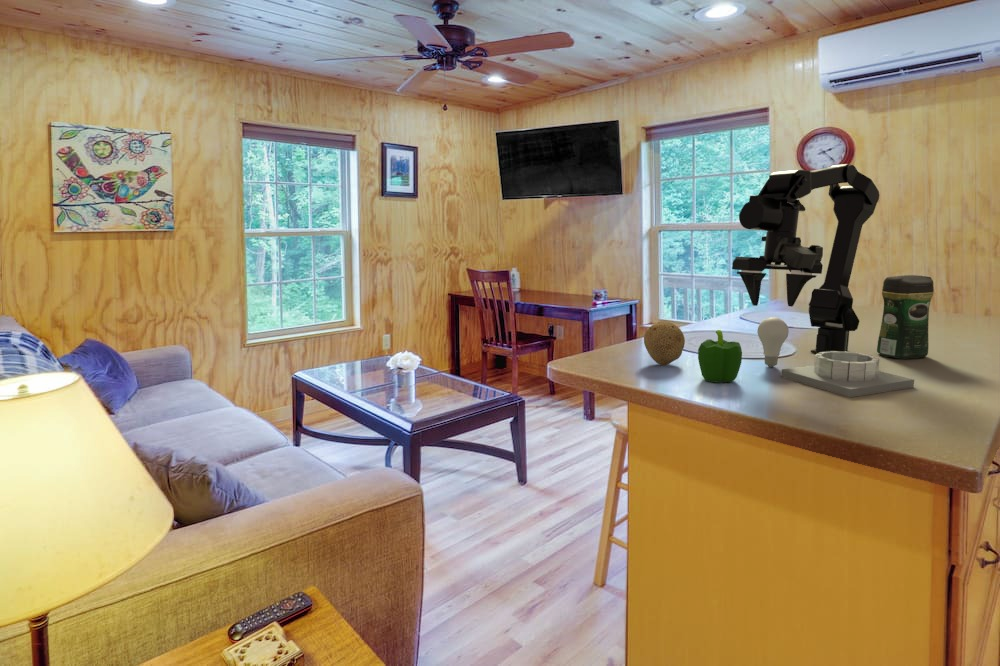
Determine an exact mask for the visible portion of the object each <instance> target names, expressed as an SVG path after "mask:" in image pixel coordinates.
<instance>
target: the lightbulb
mask: <svg viewBox="0 0 1000 666" xmlns="http://www.w3.org/2000/svg"><path fill="white" fill-rule="evenodd" d="M789 332H790V331H789V327H788V325H787V323H786V322H785V321H784V320H783V319H781V318H779V317H775V316H773V317H767V318H765V319H763V320H762V321H761V322H760V323H759V324H758V327H757V336H758V338H759V340H760V342H761V345H762V349H763V355H764V365H766V366H767V367H768V368H774V367H776V366H777V365H778V360H779V356H780V354H781V350H782V346H783V345H784V343H785V342H786V340H787V339H788V336H789Z"/></svg>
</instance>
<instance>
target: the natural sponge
mask: <svg viewBox="0 0 1000 666" xmlns="http://www.w3.org/2000/svg"><path fill="white" fill-rule="evenodd" d="M685 339H686V338H685V335H684V332H683V331H682V329H681V328H680V327H679V326H678V325H676V324H674V323H673V322H670V321H668V320H659V321H657V322H655V323H653V324H652V325H650V326H648V328H647V329H646V330H645V333H644V336H643V344H644V347H645V349H646V351H647V353H648V355H649V357H650V358H651V359H652V360H653V361H654V362H655V363H656V364H658V365H660V366H668V365H670V364H672V363H673V362H675V361H677V360H678V359H679V358H680V357H681V356H682V353H683V350H684V348H685V342H686V340H685Z"/></svg>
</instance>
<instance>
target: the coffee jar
mask: <svg viewBox="0 0 1000 666" xmlns="http://www.w3.org/2000/svg"><path fill="white" fill-rule="evenodd" d="M882 284H883V285H882V289H881V296H882V299H883V311H882V316H881V317H882V318H881V323H880V324H881V325H880V330H879V335H878V339H877V345H876V352H877V353H878V354H879V355H881V356H882V357H885V358H895V359H902V360H907V359H910V360H911V359H919V358H925V357H927V356H928V355H929V321H930V318H929V313H930V306H931V301H932V299H933V296H934V280H933V279H932V277H931V276H926V275H924V276H923V275H916V274H904V275H896V276H895V275H894V276H888V277H886V278H885V279H884V280H883V283H882Z"/></svg>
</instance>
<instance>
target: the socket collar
mask: <svg viewBox="0 0 1000 666" xmlns="http://www.w3.org/2000/svg"><path fill="white" fill-rule="evenodd" d="M814 365H815V367H814V372H815V373H816V374H817V375H819V376H822V377H826V378H829V379H835V380H842V381H861V382H863V381H871V380H875V379H876V378H877V377H878V371H879V368H880V367H879V366H880V358H878V357H876V356H874V355H872V354H871V355H870V354H866V353H862V352H856V351H849V352H847V351H845V352H844V351H826V352H819V353H815V358H814Z"/></svg>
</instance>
